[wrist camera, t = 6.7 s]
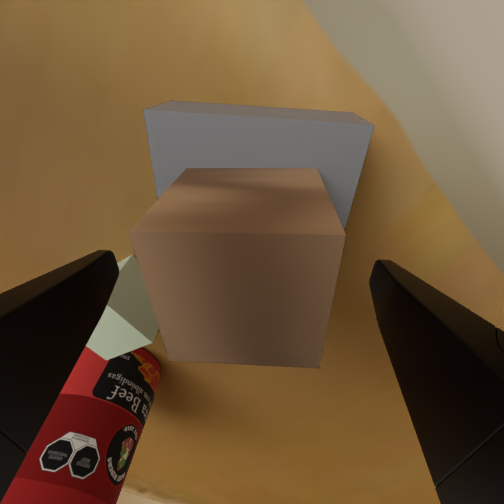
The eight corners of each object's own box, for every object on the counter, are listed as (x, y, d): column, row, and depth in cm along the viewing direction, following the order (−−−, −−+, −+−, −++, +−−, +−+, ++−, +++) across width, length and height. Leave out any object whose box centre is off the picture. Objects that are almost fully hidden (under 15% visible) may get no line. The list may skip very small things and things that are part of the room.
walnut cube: (202, 270, 13) (169, 360, 9) (186, 168, 10) (128, 231, 6) (305, 272, 13) (319, 368, 9) (316, 168, 10) (345, 234, 6)
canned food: (174, 385, 26) (119, 559, 16) (97, 386, 27) (6, 550, 18) (145, 332, 21) (50, 527, 12) (55, 335, 22) (-92, 517, 13)
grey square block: (173, 99, 12) (143, 109, 9) (350, 111, 12) (374, 124, 9) (188, 246, 17) (170, 283, 14) (316, 256, 17) (325, 295, 14)
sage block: (92, 276, 18) (52, 321, 15) (132, 253, 17) (99, 297, 14) (133, 313, 20) (106, 360, 17) (173, 294, 19) (152, 342, 16)
